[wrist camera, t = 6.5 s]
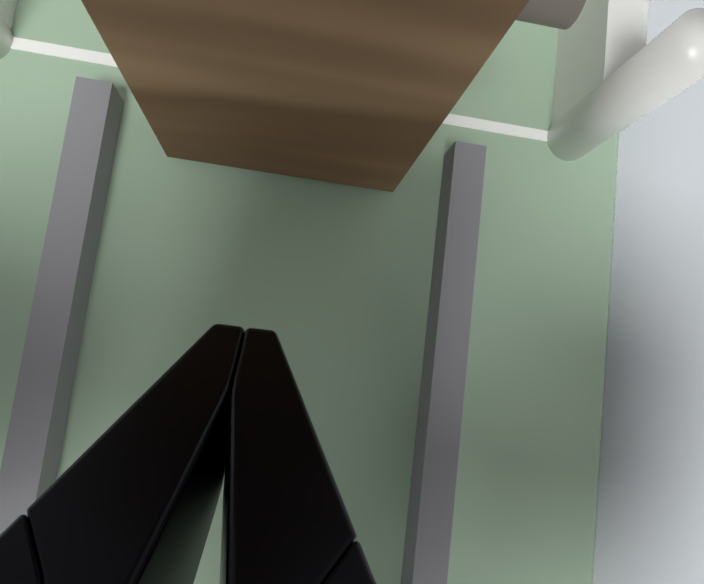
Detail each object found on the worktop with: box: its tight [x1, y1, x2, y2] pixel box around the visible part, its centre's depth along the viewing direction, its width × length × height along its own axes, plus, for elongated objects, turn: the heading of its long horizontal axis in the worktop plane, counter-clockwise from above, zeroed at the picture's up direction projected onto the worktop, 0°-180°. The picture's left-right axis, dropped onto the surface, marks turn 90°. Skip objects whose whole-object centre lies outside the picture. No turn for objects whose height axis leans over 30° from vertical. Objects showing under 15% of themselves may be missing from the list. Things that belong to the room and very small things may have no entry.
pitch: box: [0, 0, 619, 584], centre depth 14 cm, size 24×18×2 cm
